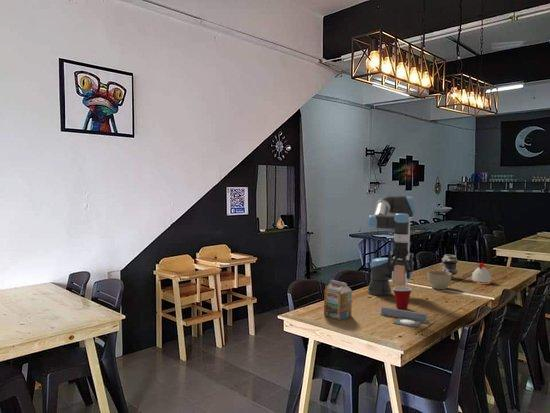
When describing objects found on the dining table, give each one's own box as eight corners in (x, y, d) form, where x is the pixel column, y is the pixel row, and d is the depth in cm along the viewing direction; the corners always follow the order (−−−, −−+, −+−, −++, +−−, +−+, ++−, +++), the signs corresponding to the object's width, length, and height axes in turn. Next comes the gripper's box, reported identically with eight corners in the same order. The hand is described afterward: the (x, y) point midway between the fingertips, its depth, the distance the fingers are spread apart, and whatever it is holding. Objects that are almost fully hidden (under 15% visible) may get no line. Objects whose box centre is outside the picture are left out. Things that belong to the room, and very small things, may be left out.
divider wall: (380, 314, 235) (380, 307, 235) (382, 313, 238) (382, 306, 238) (426, 322, 222) (426, 315, 222) (427, 321, 225) (427, 313, 225)
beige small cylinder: (391, 284, 233) (392, 266, 232) (395, 282, 238) (395, 264, 238) (403, 286, 229) (404, 267, 229) (407, 284, 235) (407, 266, 234)
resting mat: (392, 323, 221) (392, 322, 221) (398, 317, 230) (398, 317, 230) (416, 327, 214) (416, 326, 214) (421, 322, 224) (421, 321, 224)
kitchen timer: (467, 282, 321) (468, 262, 320) (475, 279, 330) (476, 260, 329) (486, 285, 311) (487, 265, 310) (494, 282, 320) (495, 263, 319)
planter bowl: (451, 286, 304) (452, 271, 304) (450, 291, 290) (451, 276, 289) (427, 284, 311) (428, 269, 311) (425, 289, 296) (426, 273, 296)
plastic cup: (397, 304, 256) (398, 284, 256) (414, 308, 249) (415, 288, 248) (388, 308, 249) (388, 287, 248) (405, 312, 241) (406, 291, 240)
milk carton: (323, 315, 232) (324, 281, 231) (335, 311, 240) (336, 278, 239) (339, 320, 225) (340, 284, 224) (351, 316, 232) (352, 281, 231)
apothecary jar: (459, 280, 327) (460, 256, 326) (442, 279, 328) (443, 256, 328) (455, 276, 338) (455, 254, 338) (439, 276, 340) (439, 253, 339)
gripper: (381, 240, 235) (380, 282, 236) (417, 243, 224) (415, 287, 225) (385, 239, 241) (384, 280, 242) (420, 242, 231) (419, 284, 232)
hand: (399, 283), depth 234 cm, fingers closed on beige small cylinder, 6 cm apart
